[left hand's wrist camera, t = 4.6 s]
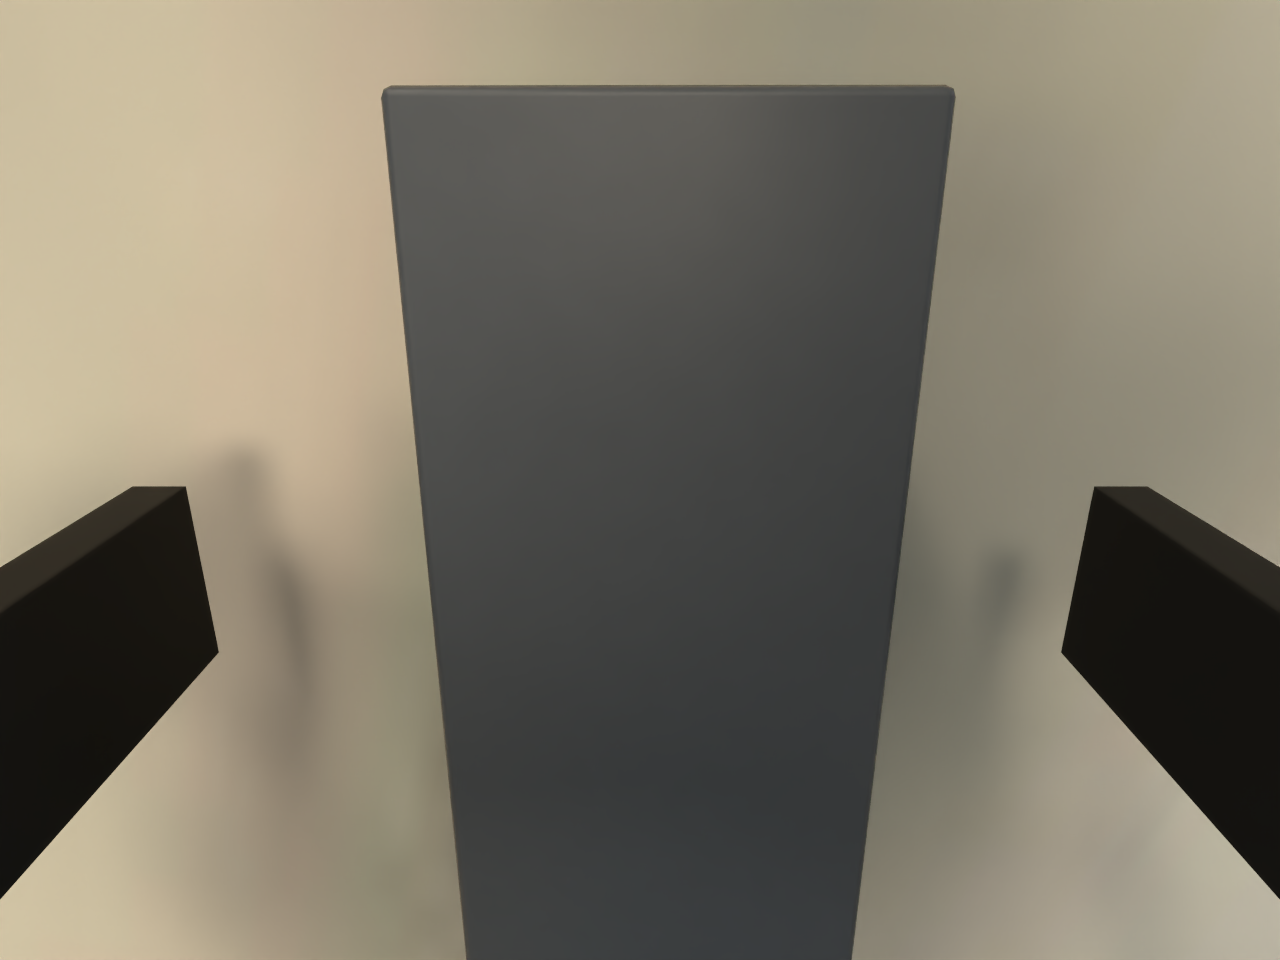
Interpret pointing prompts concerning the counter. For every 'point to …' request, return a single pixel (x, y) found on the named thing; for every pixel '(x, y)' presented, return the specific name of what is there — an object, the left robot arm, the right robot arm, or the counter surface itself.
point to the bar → (664, 493)
